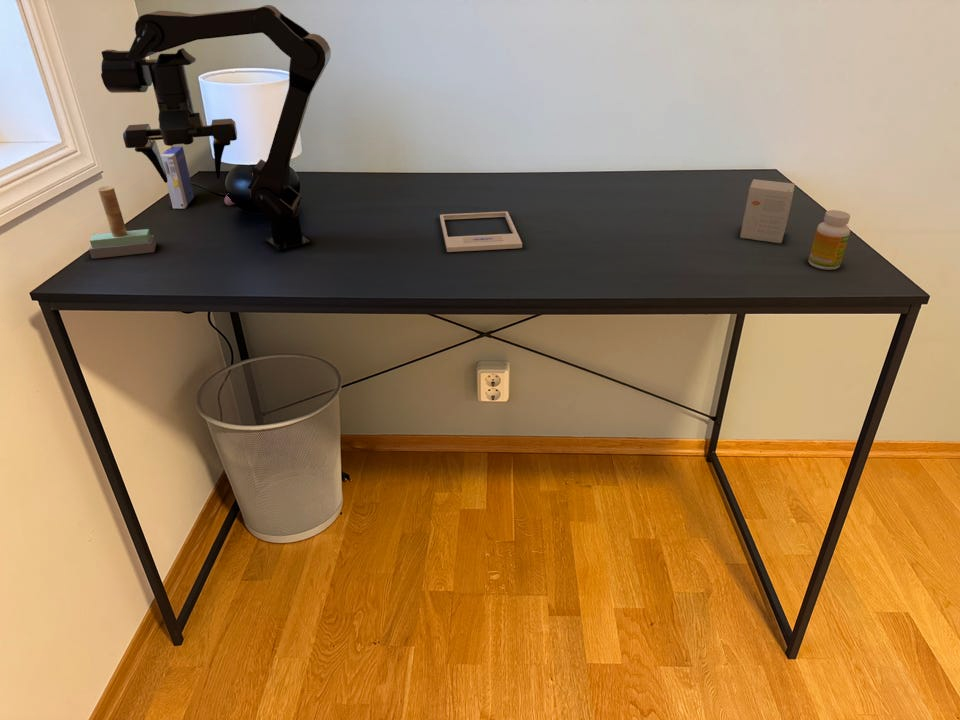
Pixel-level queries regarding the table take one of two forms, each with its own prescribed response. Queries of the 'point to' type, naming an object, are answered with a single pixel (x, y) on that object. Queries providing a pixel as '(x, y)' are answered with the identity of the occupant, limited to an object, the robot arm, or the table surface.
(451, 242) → the photo frame
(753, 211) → the small box
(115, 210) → the wiper
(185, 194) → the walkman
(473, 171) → the table surface
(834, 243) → the supplement bottle
